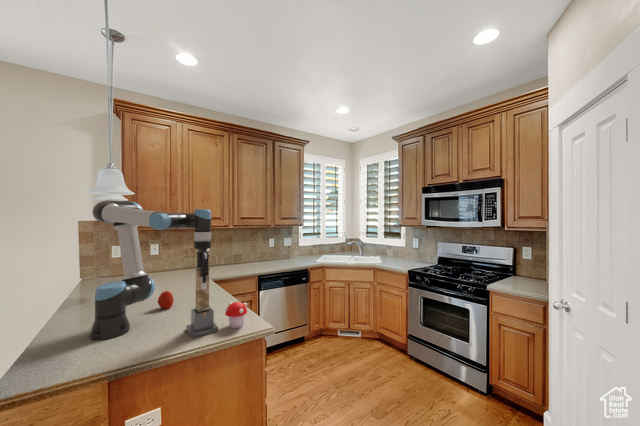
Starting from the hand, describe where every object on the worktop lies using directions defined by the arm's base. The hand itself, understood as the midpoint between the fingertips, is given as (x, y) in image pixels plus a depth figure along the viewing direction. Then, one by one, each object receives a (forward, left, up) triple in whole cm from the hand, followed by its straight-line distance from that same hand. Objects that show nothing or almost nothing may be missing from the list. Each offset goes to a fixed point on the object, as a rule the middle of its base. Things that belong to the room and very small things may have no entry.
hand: (202, 287), depth 132 cm
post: (0, 0, -11) cm, 11 cm away
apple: (-10, +47, -21) cm, 52 cm away
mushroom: (+16, -4, -21) cm, 26 cm away
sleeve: (0, 0, -21) cm, 21 cm away
